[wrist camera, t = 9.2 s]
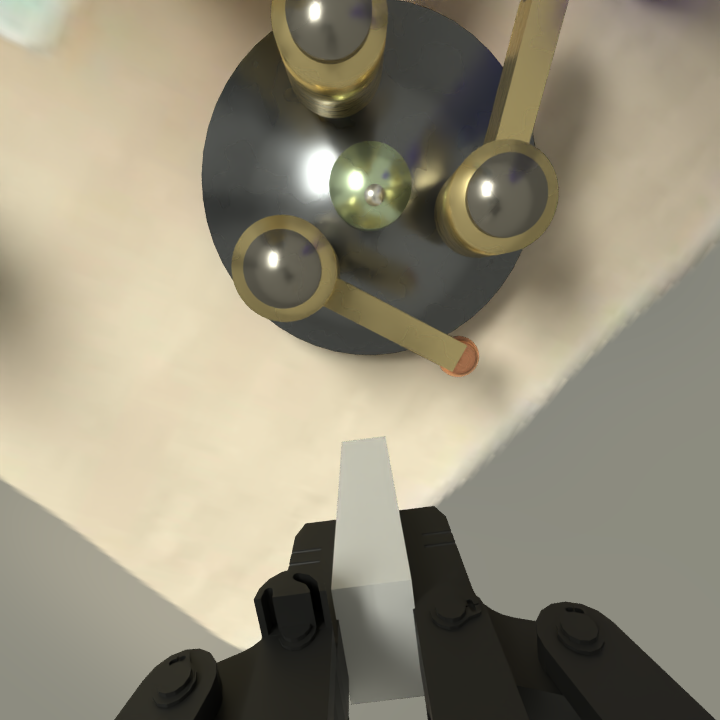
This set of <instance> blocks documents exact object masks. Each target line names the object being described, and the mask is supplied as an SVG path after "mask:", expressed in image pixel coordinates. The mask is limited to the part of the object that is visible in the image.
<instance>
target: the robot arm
mask: <svg viewBox="0 0 720 720" xmlns="http://www.w3.org/2000/svg"><path fill="white" fill-rule="evenodd" d="M289 564H290V566H289V568H288V571H284V572H281V573H279V574H278V575H276V576H274V577H272V578H270V579H269V580H268V581H267V582H266V583H265V584H264V585H263V586H262V587H261V588H260V589H259V591H258V592H257V594H256V596H255V598H254V603H255V607H256V612H257V616H258V621H259V625H260V629H261V634H262V640H260V641H259V642H258V643H256V644H255V645H254V646H253V647H251V648H249V649H247V650H245V651H243V652H241V653H239V654H237V655H234V656H232V657H229V658H227V659H225V660H222V661H220V662H218V663H216V661H215V660H214V658H213V656H212V655H211V653H210V652H207V651H205V650H202V649H190V650H184V651H182V652H179V653H177V654H174V655H172V656H170V657H169V658H167V659H166V660H164V661H163V662H161V663H160V664H159V665H157V666H156V667H155V668H154V669H153V670H152V671H151V672H150V673H149V675H148V676H147V677H146V678H145V679H144V680H143V681H142V683H141V684H140V685H139V687H138V688H137V690H136V691H135V692H134V694H133V695H132V696H131V698H130V699H129V700H128V702H127V703H126V705H125V706H124V707H123V709H122V710H121V711H120V713H119V714H118V715H117V717H116V718H115V720H349V716H348V715H349V713H348V712H349V695H350V700H351V705H352V704H360V703H368V702H377V701H385V700H394V699H403V698H410V697H420V696H425V702H426V708H427V717H428V720H715V719H714V718H713V717H712V716H711V715H710V714H709V713H708V712H707V711H706V710H705V709H704V708H703V707H702V706H701V705H699V703H698V702H696V701H695V700H694V699H693V698H692V697H691V696H690V695H689V694H688V693H687V692H686V691H685V690H684V689H683V688H681V686H680V685H678V683H677V682H675V681H674V680H673V679H672V678H671V677H670V676H669V675H668V674H667V673H666V672H665V671H664V670H663V669H662V668H661V667H660V666H659V665H658V664H656V663H655V662H654V661H653V660H652V659H651V658H650V657H649V656H648V655H647V654H646V653H645V652H644V651H643V650H642V649H641V648H640V647H639V646H638V645H636V644H635V643H634V642H633V641H632V640H631V639H630V638H629V637H628V636H627V635H626V634H625V633H624V632H623V631H622V630H621V629H620V628H619V627H617V625H616V624H614V623H613V622H612V621H611V620H610V619H608V618H607V617H606V616H604V615H603V614H601V613H600V612H599V611H597V610H595V609H592V608H590V607H587V606H585V605H583V604H578V603H571V602H560V603H554V604H551V605H549V606H547V607H546V608H544V609H543V610H541V612H540V614H539V616H538V618H537V620H536V621H532V620H525V619H518V618H513V617H510V616H506V615H502V614H500V613H498V612H496V611H494V610H492V609H490V608H489V607H487V606H486V605H484V604H483V602H482V601H481V600H480V598H479V597H477V596H476V595H475V593H474V591H473V589H472V586H471V584H470V581H469V578H468V575H467V573H466V570H465V567H464V565H463V562H462V559H461V556H460V554H459V551H458V548H457V546H456V544H455V540H454V538H453V535H452V533H451V529H450V526H449V524H448V521H447V519H446V516H445V515H444V514H442V513H441V512H440V511H439V510H438V509H437V508H436V507H434V506H431V507H423V508H415V509H407V510H399V509H398V503H397V498H396V492H395V487H394V481H393V476H392V470H391V465H390V459H389V454H388V448H387V443H386V438H385V436H384V437H376V438H368V439H360V440H353V441H345V442H342V449H341V462H340V476H339V489H338V503H337V517H336V520H330V521H322V522H315V523H307V524H305V525H304V526H303V528H302V529H301V530H300V531H299V533H298V534H297V535H296V537H295V541H294V545H293V550H292V554H291V559H290V563H289Z"/></svg>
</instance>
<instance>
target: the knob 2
mask: <svg viewBox="0 0 720 720" xmlns="http://www.w3.org/2000/svg"><path fill="white" fill-rule="evenodd" d="M568 1H569V0H521V2H520V4H519V8H518V12H517V16H516V19H515V23H514V27H513V31H512V35H511V39H510V43H509V47H508V51H507V54H506V58H505V62H504V66H503V70H502V74H501V78H500V82H499V86H498V89H497V93H496V97H495V101H494V105H493V109H492V113H491V117H490V121H489V124H488V128H487V132H486V136H485V140H484V144H483V146H481V147H479V148H478V149H476V150H475V151H474V152H472V153H471V154H470V155H469V156H468V157H467V158H466V159H465V160H464V162H463V163H462V164H461V165H460V166H459V167H458V168H457V169H456V171H455V172H454V173H453V174H452V175H451V176H450V177H449V179H448V180H447V181H446V182H445V183H444V185H443V186H442V188H441V190H440V192H439V194H438V196H437V199H436V203H435V209H434V218H435V225H436V228H437V231H438V233H439V235H440V237H441V239H442V240H443V242H444V243H445V244H446V245H447V246H448V247H449V248H450V249H451V250H453V251H454V252H456V253H458V254H460V255H462V256H465V257H470V258H482V257H488V256H494V255H499V254H504V253H509V252H514V251H517V250H520V249H522V248H525V247H526V246H528V245H530V244H531V243H533V242H534V241H536V240H537V239H538V238H539V237H540V236H541V235H542V234H543V233H544V231H545V230H546V229H547V227H548V226H549V224H550V223H551V221H552V219H553V217H554V214H555V211H556V208H557V203H558V181H557V177H556V174H555V171H554V169H553V166H552V165H551V163H550V161H549V160H548V159H547V157H546V156H545V155H544V154H543V153H542V152H541V151H540V150H539V149H537V148H536V147H534V146H533V145H531V144H529V142H530V138H531V135H532V131H533V127H534V124H535V120H536V117H537V113H538V109H539V106H540V102H541V98H542V95H543V91H544V88H545V84H546V80H547V77H548V73H549V70H550V66H551V62H552V59H553V55H554V52H555V48H556V44H557V41H558V37H559V33H560V30H561V26H562V23H563V19H564V15H565V12H566V8H567V5H568Z"/></svg>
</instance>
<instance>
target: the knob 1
mask: <svg viewBox="0 0 720 720" xmlns="http://www.w3.org/2000/svg"><path fill="white" fill-rule="evenodd" d="M231 268H232V277H233V281H234V285H235V287H236V290H237V292H238V294H239V295H240V297H241V298H242V300H243V301H244V302H245V304H246V305H247V306H248V307H249V308H250V309H252V310H253V311H254V312H256V313H257V314H259V315H261V316H262V317H265V318H267V319H270V320H273V321H279V322H292V321H298V320H302V319H304V318H307V317H309V316H310V315H312V314H314V313H315V312H317V311H318V310H319V309H321V308H322V307H323V306H324V307H326V308H328V309H330V310H332V311H334V312H336V313H338V314H340V315H342V316H344V317H346V318H348V319H350V320H352V321H354V322H356V323H357V324H359V325H361V326H363V327H365V328H367V329H369V330H371V331H373V332H375V333H377V334H379V335H381V336H383V337H385V338H387V339H389V340H391V341H393V342H395V343H397V344H399V345H401V346H403V347H404V348H406V349H408V350H410V351H412V352H414V353H416V354H418V355H420V356H422V357H424V358H426V359H428V360H430V361H432V362H434V363H436V364H438V365H439V366H440V367H441V369H442V370H443V371H444V372H445V373H447V374H448V375H451V376H455V377H462V376H465V375H468V374H469V373H471V372H472V371H473V370H474V369H475V368H476V366H477V364H478V361H479V352H478V349H477V347H476V345H475V344H474V343H473V342H472V341H471V340H470V339H468V338H466V337H462V336H454V337H452V336H450V335H448V334H446V333H444V332H442V331H440V330H438V329H436V328H434V327H432V326H430V325H428V324H427V323H425V322H423V321H421V320H419V319H417V318H415V317H413V316H411V315H409V314H407V313H405V312H403V311H401V310H400V309H398V308H396V307H394V306H392V305H390V304H388V303H386V302H384V301H382V300H380V299H378V298H376V297H375V296H373V295H371V294H369V293H367V292H365V291H363V290H361V289H359V288H357V287H355V286H353V285H351V284H350V283H348V282H346V281H344V280H342V279H340V265H339V261H338V257H337V255H336V252H335V250H334V249H333V247H332V245H331V244H330V243H329V241H328V240H327V239H326V237H325V236H324V235H323V234H322V233H321V232H320V231H319V229H317V228H316V227H315V226H314V225H312V224H311V223H309V222H308V221H306V220H303V219H301V218H298V217H295V216H290V215H274V216H269V217H265V218H263V219H261V220H259V221H257V222H255V223H254V224H252V225H251V226H250V227H249V228H247V229H246V231H245V232H244V233H243V234H242V235H241V237H240V238H239V240H238V242H237V244H236V246H235V249H234V251H233V256H232V264H231Z"/></svg>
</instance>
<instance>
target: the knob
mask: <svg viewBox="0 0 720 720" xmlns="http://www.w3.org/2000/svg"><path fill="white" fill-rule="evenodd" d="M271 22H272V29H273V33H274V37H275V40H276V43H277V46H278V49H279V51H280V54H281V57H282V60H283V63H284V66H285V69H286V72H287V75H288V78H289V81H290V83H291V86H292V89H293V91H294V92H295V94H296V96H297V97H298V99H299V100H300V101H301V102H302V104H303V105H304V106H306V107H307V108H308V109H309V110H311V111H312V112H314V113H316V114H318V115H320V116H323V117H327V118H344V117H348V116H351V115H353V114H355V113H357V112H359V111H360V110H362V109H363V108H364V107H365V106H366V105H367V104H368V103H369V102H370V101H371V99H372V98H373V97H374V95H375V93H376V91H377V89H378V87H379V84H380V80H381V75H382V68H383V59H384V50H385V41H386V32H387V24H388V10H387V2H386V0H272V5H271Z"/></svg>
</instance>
